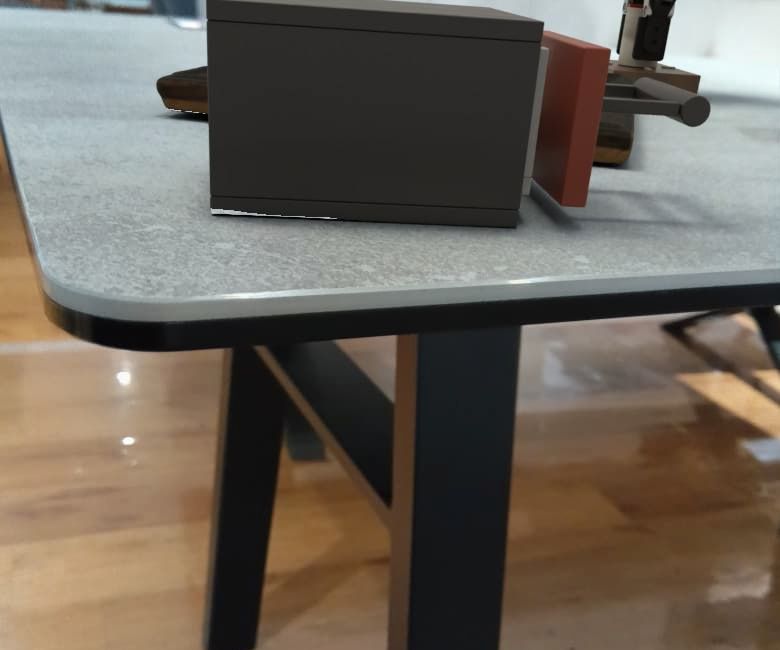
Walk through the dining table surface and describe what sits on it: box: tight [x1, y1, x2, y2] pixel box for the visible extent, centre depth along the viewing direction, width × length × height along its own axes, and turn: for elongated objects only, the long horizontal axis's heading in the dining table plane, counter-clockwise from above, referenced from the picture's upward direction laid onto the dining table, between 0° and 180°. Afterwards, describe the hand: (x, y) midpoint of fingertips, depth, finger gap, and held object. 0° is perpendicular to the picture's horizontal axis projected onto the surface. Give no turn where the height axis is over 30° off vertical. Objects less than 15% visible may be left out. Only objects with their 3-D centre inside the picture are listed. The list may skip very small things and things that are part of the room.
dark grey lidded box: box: [205, 0, 545, 229], centre depth 42 cm, size 14×12×9 cm
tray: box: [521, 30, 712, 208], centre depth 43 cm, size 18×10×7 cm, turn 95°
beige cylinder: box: [617, 4, 659, 68], centre depth 91 cm, size 4×4×6 cm
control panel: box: [608, 59, 702, 94], centre depth 93 cm, size 9×12×3 cm
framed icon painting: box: [155, 65, 635, 164], centre depth 71 cm, size 38×35×3 cm
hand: (639, 55), depth 92 cm, fingers closed on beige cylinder, 4 cm apart
